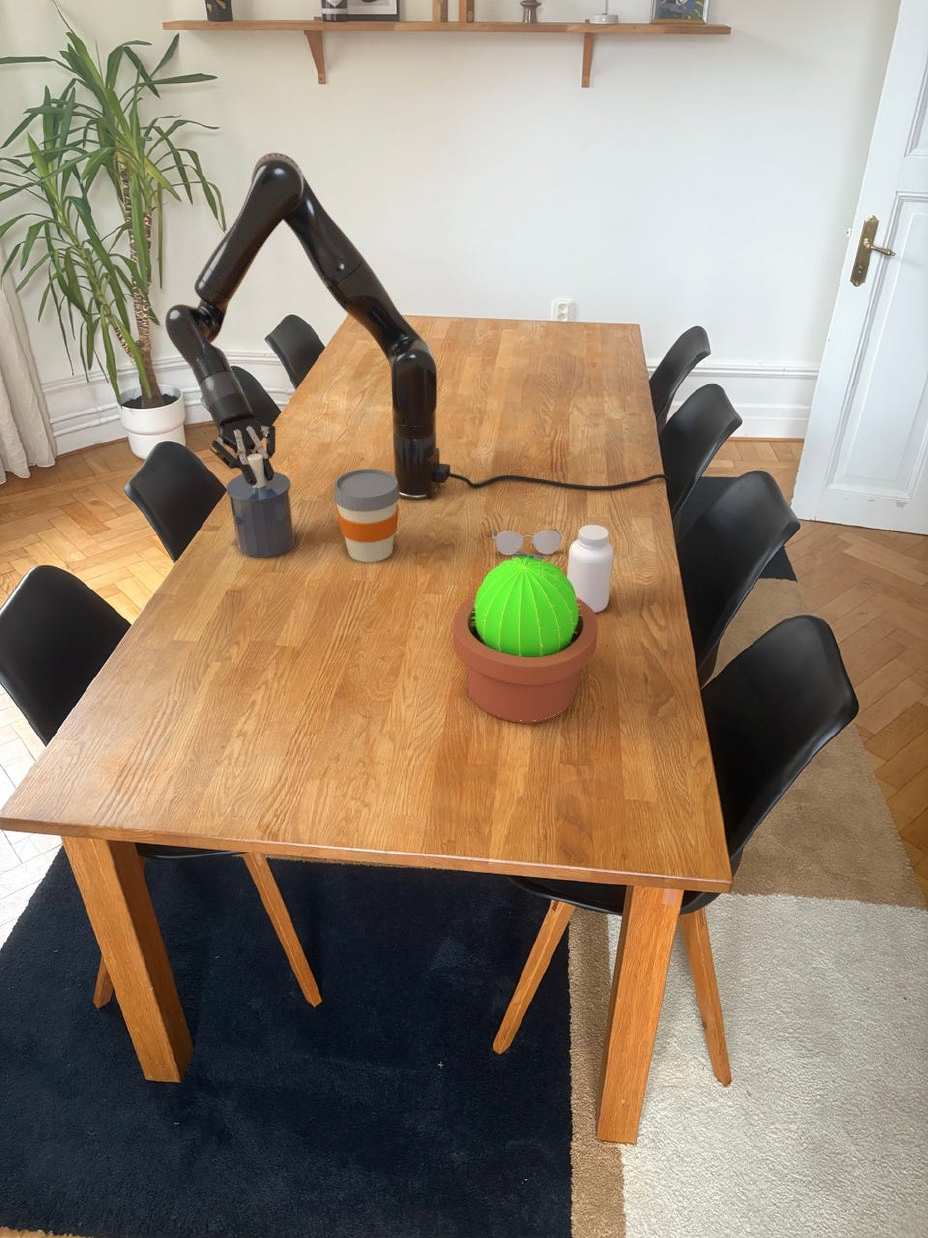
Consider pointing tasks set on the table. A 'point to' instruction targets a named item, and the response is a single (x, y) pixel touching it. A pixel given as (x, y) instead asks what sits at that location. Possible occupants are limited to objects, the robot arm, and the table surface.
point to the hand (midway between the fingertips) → (262, 481)
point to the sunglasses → (542, 541)
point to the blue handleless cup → (263, 526)
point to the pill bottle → (591, 566)
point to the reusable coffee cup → (367, 512)
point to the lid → (258, 484)
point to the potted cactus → (524, 640)
